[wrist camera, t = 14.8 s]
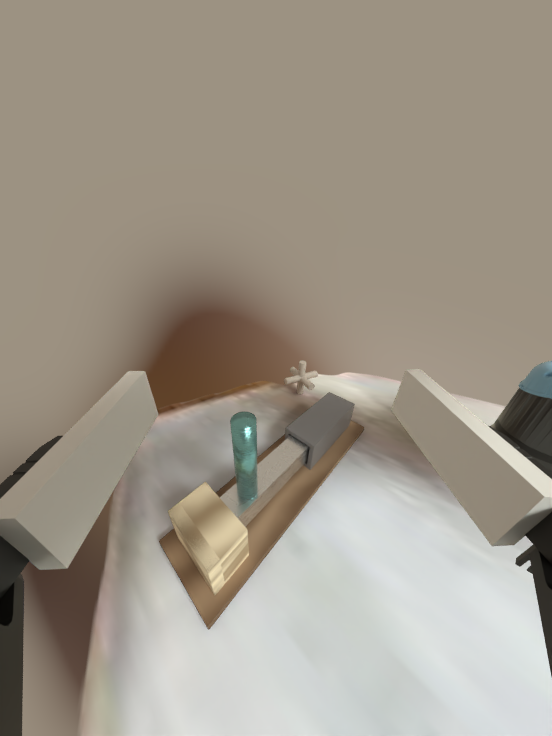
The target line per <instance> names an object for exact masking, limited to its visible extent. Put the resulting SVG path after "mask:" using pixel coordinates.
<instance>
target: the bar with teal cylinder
mask: <svg viewBox="0 0 552 736" xmlns="http://www.w3.org/2000/svg"><path fill="white" fill-rule="evenodd" d="M230 422H231V433H232V443H233V453H234V464H235V474H236V484H235V485H233V486H232V487H231V488H230V489H229V490H228V491H227V492H225V493H224V494H223V495H222V496H221V497H220V499H221V500H222V501H223V502H224V503H225V505H226V506H227V507H228V508H229V509H230V510H231V511H232V512H233V514H234V515H235V516H236V517H237V518H238V519H239V520H240V522H241V523H242V524H243V525H244V526H245V527H246V526H247V525H248V524H249V522H250V521H251V520H252V519H253V518H254V517H255V516H256V515H257V514H258V513H259V512H260V511H261V510H262V508H263V507H264V506H265V505H266V504H267V503H268V502H269V501H270V500H271V499H272V498H273V497H274V496H275V494H276V493H277V492H278V491H279V490H280V489H281V488H282V487H283V486H284V485H285V484H286V483H287V482H288V481H289V479H290V478H291V477H292V476H293V475H294V474H295V473H296V472H297V471H298V470H299V469H300V468H301V467H302V465H303V464H304V463H305V462H306V461H307V460H308V455H309V449H310V447H309V446H307V445H306V444H304V443H303V442H301V441H300V440H298V439H297V438H295V437H294V436H292V435H291V436H289V437H288V438H287V439H286V440H285V441H284V442H283V443H281V444H280V445H279V446H278V447H277V448H276V449H275V450H273V451H272V452H271V453H270V454H269V455H268V456H267V457H265V458H264V459H263V460H262V461H261V462H260V463H259V464H257V432H256V417H255V415H254V414H252V413H250V412H239V413H237V414H235V415H234V416H233V417H232V418H231V421H230Z"/></svg>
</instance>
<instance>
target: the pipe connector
mask: <svg viewBox="0 0 552 736" xmlns="http://www.w3.org/2000/svg"><path fill="white" fill-rule="evenodd" d="M305 370H306V361H300V363H299V371H298V370H296V369H295V368H294V367H292V368H290V372H291V373H292V374H294V376H292V377H288V378H285V379H284V382H285V384H286V385H287V384H291V383H295V382H298V384H297V393H298V394H303V388H304V385H305V386H306V387H307V388H308V389H309V390H312V389H313V388H314V384H313V383H311V382H310V381H309V380H308V379H310V378H314V377H317V376H318V373H317V371H312V372H308V373H305Z"/></svg>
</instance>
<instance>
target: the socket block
mask: <svg viewBox="0 0 552 736" xmlns="http://www.w3.org/2000/svg"><path fill="white" fill-rule="evenodd" d="M168 513H169V516H170V518H171V521H172V524H173V526H174V529H175V531H176V534H177V537H178V538H179V540H180V542H181V543H182V545H183V546H184V548H185V550H186V551H187V553H188V554H189V556H190V557H191V559H192V561H193V562H194V564H195V565H196V567H197V569H198V570H199V572H200V573H201V575H202V576H203V578H204V580H205V581H206V583H207V584H208V586H209V587H210V589H211V591H212V592H213V594H214V595H216V594H217V593H218V592H219V590H220V589H221V588H222V587H223V586H224V584H225V583H226V582H227V581H228V580H229V578H230V577H231V576H232V575H233V574H234V572H235V571H236V570H237V569H238V568H239V566H240V565H241V564H242V563H243V562H244V560H245V559H246V558H247V557H248V556H249V547H248V532H247V528H246V527H245V526H244V525H243V524H242V523H241V522H240V520H239V519H238V518H237V517H236V516H235V515H234V514H233V512H232V511H231V510H230V509H229V508H228V507H227V506H226V505H225V503H224V502H223V501H222V500H221V499H220V498H219V497H218V495H217V494H216V493H215V492H214V491H213V490H212V489H211V488H210V486H209V485H208V484H207V483H206V482H204V483H203V484H202V485H201V486H199V487H198V488H197V489H195V490H194V491H193V492H192V493H190V494H189V495H188V496H187V497H185V498H184V499H183V500H181V501H180V502H179V503H178V504H176V505H175V506H174V507H172V508H171V509H170V510H169V511H168Z"/></svg>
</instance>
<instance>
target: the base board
mask: <svg viewBox="0 0 552 736" xmlns="http://www.w3.org/2000/svg"><path fill="white" fill-rule="evenodd" d="M363 430H364V427H363V426H361V425H359V424H357V423H355V422H353V421H350V424H349V426H348V428H347V429H346V430H345V431H344V432H343V433H342V434H341V436H340V437H339V438H338V439H337V440H336V441H335V442H334V444H333V445H332V446H331V447H330V448H329V449H328V450H327V452H326V453H325V454H324V455H323V456H322V457H321V458H320V460H319V461H318V462H317V463H316V464H315V465H314V466H313V468H312V469H311V470H309V469H308V468H307V467H305V466H304V465H302V467H301V468H300V469H299V470H298V471H297V472H296V473H295V474H294V475H293V476H292V477H291V478H290V479H289V481H288V482H287V483H286V484H285V485H284V486H283V487H282V488H281V489H280V490H279V491H278V492H277V493H276V494H275V496H274V497H273V498H272V499H271V500H270V501H269V502H268V503H267V504H266V505H265V506H264V507H263V508H262V510H261V511H260V512H259V513H258V514H257V515H256V516H255V517H254V518H253V519H252V520H251V521H250V522H249V524H248V525H247V526H246V528H247V532H248V547H249V556H248V557H247V558H246V559H245V560H244V562H243V563H242V564H241V565H240V566H239V568H238V569H237V570H236V571H235V572H234V574H233V575H232V576H231V577H230V578H229V580H228V581H227V582H226V583H225V584H224V586H223V587H222V588H221V589H220V590H219V592H218V593H217V594H216V595H214V594H213V592H212V591H211V589H210V587H209V586H208V584H207V583H206V581H205V580H204V578H203V576H202V575H201V573H200V572H199V570H198V569H197V567H196V565H195V564H194V562H193V561H192V559H191V557H190V556H189V554H188V553H187V551H186V550H185V548H184V546H183V545H182V543H181V542H180V540H179V538H178V537H177V534H176V531H175V529H173V530H171V531H170V532H169V533H168V534H167V535H166V536H164V537H163V538H162V539H161V540H160V541H159V542H160V544H161V546H162V548H163V550H164V552H165V553H166V555H167V557H168V559H169V560H170V562H171V564H172V566H173V567H174V569H175V571H176V573H177V575H178V576H179V578H180V580H181V582H182V583H183V585H184V587H185V589H186V591H187V592H188V594H189V596H190V598H191V599H192V601H193V603H194V605H195V606H196V608H197V610H198V612H199V614H200V615H201V617H202V619H203V621H204V622H205V624H206V626H207V628H208V630H209V629H210V628H211V627H212V625H213V624H214V623H215V621H216V620H217V619H218V618H219V616H220V615H221V614H222V612H223V611H224V610H225V608H226V607H227V606H228V605H229V603H230V602H231V601H232V599H233V598H234V597H235V596H236V594H237V593H238V592H239V590H240V589H241V588H242V587H243V585H244V584H245V583H246V581H247V580H248V579H249V578H250V576H251V575H252V574H253V572H254V571H255V570H256V568H257V567H258V566H259V565H260V563H261V562H262V561H263V559H264V558H265V557H266V556H267V554H268V553H269V552H270V550H271V549H272V548H273V547H274V545H275V544H276V543H277V541H278V540H279V539H280V538H281V536H282V535H283V534H284V532H285V531H286V530H287V529H288V527H289V526H290V525H291V523H292V522H293V521H294V519H295V518H296V517H297V516H298V514H299V513H300V512H301V510H302V509H303V508H304V507H305V505H306V504H307V503H308V501H309V500H310V499H311V498H312V496H313V495H314V494H315V492H316V491H317V490H318V489H319V487H320V486H321V485H322V483H323V482H324V481H325V479H326V478H327V477H328V476H329V474H330V473H331V472H332V470H333V469H334V468H335V467H336V465H337V464H338V463H339V461H340V460H341V459H342V458H343V456H344V455H345V454H346V452H347V451H348V450H349V449H350V447H351V446H352V445H353V443H354V442H355V441H356V440H357V438H358V437H359V436H360V434H361V433H362V432H363ZM284 441H285V435H283V436H282V437H281V438H280V439H279V440H278V441H276V442H275V443H274V444H273V445H272V446H270V447H269V448H268V449H267V450H266V451H265V452H263V453H262V454H261V455H260V456H259V457H258V458H257V464H259V463H260V462H261V461H262V460H263V459H264V458H265V457H267V456H268V455H269V454H270V453H271V452H272V451H273V450H275V449H276V448H277V447H278V446H279V445H280V444H281V443H283V442H284ZM235 484H236V476H235V477H234V478H233V479H232V480H230V481H229V482H228V483H227V484H226V485H225V486H223V487H222V488H221V489H220V490H219V491H217V492H216V494H217V495H218V497H219V498H220V497H221V496H222V495H223V494H224V493H225V492H227V491H228V490H229V489H230V488H231V487H232V486H233V485H235Z"/></svg>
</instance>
